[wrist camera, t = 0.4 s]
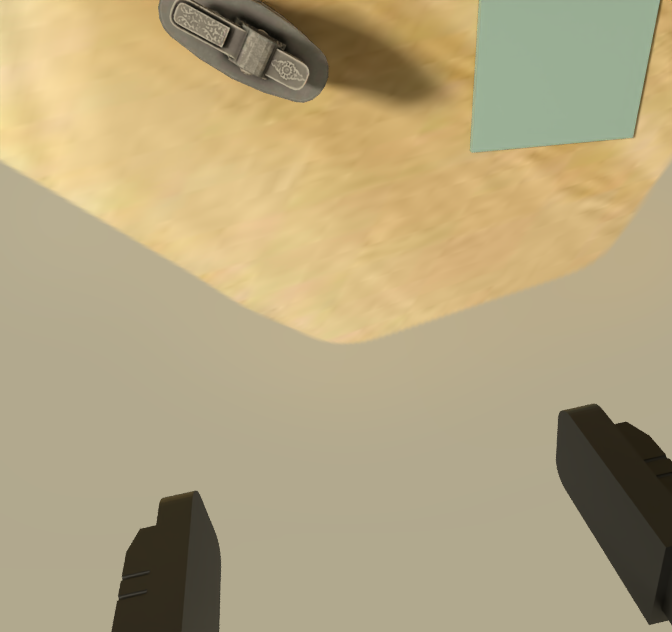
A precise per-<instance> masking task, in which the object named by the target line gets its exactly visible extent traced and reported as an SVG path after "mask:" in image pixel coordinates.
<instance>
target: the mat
mask: <svg viewBox="0 0 672 632" xmlns="http://www.w3.org/2000/svg"><path fill="white" fill-rule="evenodd" d="M659 3H660V0H479V10H478V27H477V43H476V60H475V76H474V92H473V109H472V125H471V142H470V151H471V152H472V153H473V152H483V151H494V150H505V149H516V148H526V147H537V146H548V145H558V144H569V143H580V142H591V141H601V140H612V139H623V138H633V135H634V130H635V125H636V119H637V114H638V109H639V104H640V99H641V94H642V89H643V84H644V79H645V74H646V69H647V64H648V59H649V53H650V48H651V43H652V38H653V33H654V28H655V23H656V18H657V13H658V8H659Z"/></svg>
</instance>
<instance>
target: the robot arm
mask: <svg viewBox="0 0 672 632" xmlns="http://www.w3.org/2000/svg"><path fill="white" fill-rule="evenodd" d="M556 464H557V470H558V473H559V477H560V479H561V482H562V484H563V486H564V488H565V490H566V491H567V493H568V494H569V496H570V498H571V499H572V501H573V503H574V504H575V506H576V507H577V509H578V511H579V512H580V514H581V516H582V517H583V519H584V520H585V522H586V524H587V525H588V527H589V528H590V530H591V532H592V533H593V535H594V536H595V538H596V540H597V541H598V543H599V545H600V546H601V548H602V549H603V551H604V553H605V554H606V556H607V557H608V559H609V561H610V562H611V564H612V566H613V567H614V568H615V570H616V572H617V574H618V575H619V577H620V579H621V580H622V582H623V583H624V585H625V586H626V588H627V590H628V591H629V593H630V594H631V596H632V598H633V599H634V601H635V603H636V604H637V606H638V608H639V609H640V611H641V612H642V614H643V616H644V617H645V618H646V620H647V622H648V624H649V625H651V624H655V623H659V622H664V621H668V620H669V621H670V623H671V625H672V461H671V460H670V459H667V457H666V455H665V453H664V452H663V451H662V450H661V448H659V446H658V445H657V444H656V443H655V442H654V440H652V438H651V437H650V436H649V435H647V434H646V433H644V432H642V431H641V430H639V429H637V428H636V427H634V426H633V425H631V424H629V423H628V422H623V423H618V424H614V423H613V422H612V421H611V419H610V418H609V417H608V416H607V415H606V413H605V412H604V411H603V410H602V409H601V407H600V406H598V405H597V404H590V405H585V406H581V407H577V408H572V409H567V410H563V411H560V413H559V416H558V431H557V451H556ZM122 579H123V580H122V581H121V584H120V589H119V594H118V597H119V601H117V605H116V610H115V616H114V621H113V626H112V632H219V618H220V581H221V556H220V548H219V543H218V539H217V536H216V533H215V530H214V528H213V526H212V523H211V521H210V518H209V516H208V513H207V511H206V509H205V506H204V504H203V501H202V499H201V496H200V494H199V493H198V491H192V492H188V493H183V494H179V495H174V496H169V497H165V498H162V499H161V501H160V503H159V509H158V516H157V523H156V526H151V527H147V528H142V529H140V530H139V532H138V533H137V535H136V537H135V539H134V540H133V542H132V543H131V545H130V547H129V549H128V550H127V552H126V557H125V563H124V568H123V573H122Z"/></svg>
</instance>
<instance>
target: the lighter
mask: <svg viewBox="0 0 672 632" xmlns="http://www.w3.org/2000/svg"><path fill="white" fill-rule="evenodd" d="M158 9H159V19H160V21H161V23H162V26H163V28H164V29H165V31H166V32H167V33H168V34H169V35H170V36H171V37H172V38H173V39H175V40H176V41H177V42H179V43H180V44H181V45H182V46H184V47H185V48H186V49H188V50H189V51H190V52H192V53H193V54H194V55H195V56H197V57H198V58H199V59H201V60H202V61H204V62H206V63H207V64H209V65H210V66H212V67H214V68H215V69H217V70H219V71H220V72H222V73H224V74H225V75H227V76H229V77H230V78H232V79H234V80H236V81H239V82H241V83H243V84H246V85H248V86H250V87H252V88H255V89H257V90H259V91H262V92H264V93H267V94H270V95H274V96H277V97H281V98H284V99H287V100H291V101H294V102H302V103H304V102H307V101H310V100H313V99H314V98H315V97H316V96H318V95H319V94H320V93H321V91H322V90H323V88H324V87H325V85H326V82H327V79H328V63H327V59H326V57H325V55H324V54H323V53H322V51H321V50H320V49H319V48H318V47H317V46H316V45H314V44H313V43H312V42H311V41H310V40H309V39H308V38H307V37H306V36H305V35H304V34H303V33H302V32H301V31H300V30H298V29H297V28H296V27H295V26H294V25H293V24H292V23H290V22H289V21H288V20H287V19H286V18H285V17H283V16H282V15H280V14H279V13H278V12H276V11H275V10H273V9H272V8H270V7H269V6H267V5H266V4H264V3H263V2H261V1H260V0H160V1H159V6H158Z"/></svg>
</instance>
